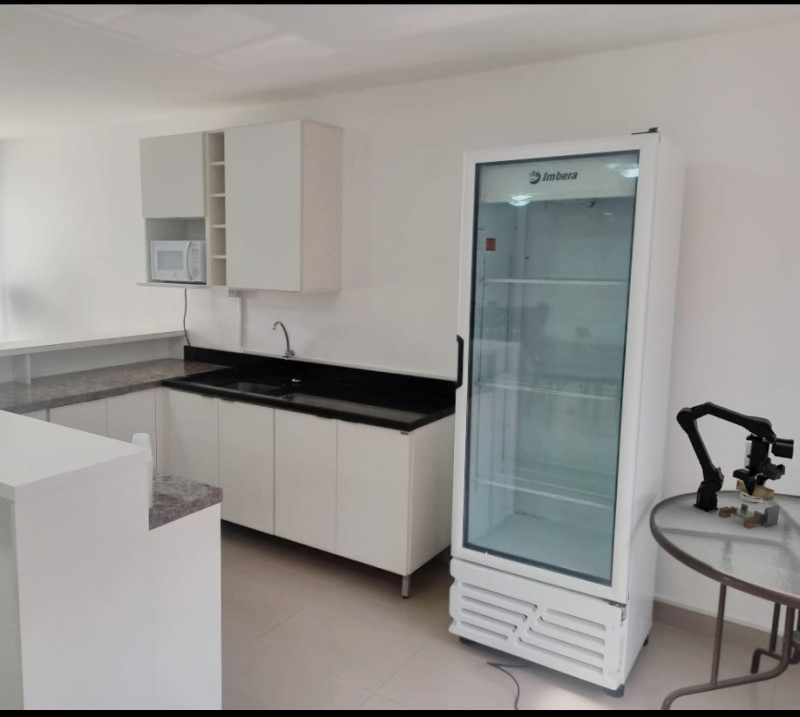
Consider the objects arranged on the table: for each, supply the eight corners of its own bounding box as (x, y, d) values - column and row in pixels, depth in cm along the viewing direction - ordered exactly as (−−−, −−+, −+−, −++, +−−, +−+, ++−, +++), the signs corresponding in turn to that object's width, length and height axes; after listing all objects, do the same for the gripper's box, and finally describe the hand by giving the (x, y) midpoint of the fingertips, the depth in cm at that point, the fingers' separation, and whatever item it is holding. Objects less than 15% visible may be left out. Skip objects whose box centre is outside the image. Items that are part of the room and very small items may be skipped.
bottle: (762, 505, 245) (771, 434, 240) (738, 500, 249) (747, 430, 244) (764, 498, 251) (772, 429, 246) (741, 493, 256) (749, 426, 251)
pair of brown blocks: (718, 515, 234) (719, 508, 234) (725, 513, 236) (726, 506, 235) (748, 528, 224) (749, 520, 223) (756, 526, 225) (757, 518, 225)
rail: (735, 489, 236) (737, 480, 236) (742, 487, 238) (743, 478, 237) (766, 501, 226) (768, 491, 225) (773, 499, 227) (774, 490, 227)
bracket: (726, 511, 238) (728, 493, 237) (738, 507, 242) (740, 490, 240) (765, 527, 225) (768, 508, 224) (778, 523, 228) (780, 505, 227)
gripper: (763, 464, 218) (758, 507, 221) (797, 457, 226) (791, 498, 229) (734, 454, 228) (729, 495, 230) (767, 447, 236) (762, 487, 239)
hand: (753, 494), depth 232 cm, fingers closed on rail, 3 cm apart
